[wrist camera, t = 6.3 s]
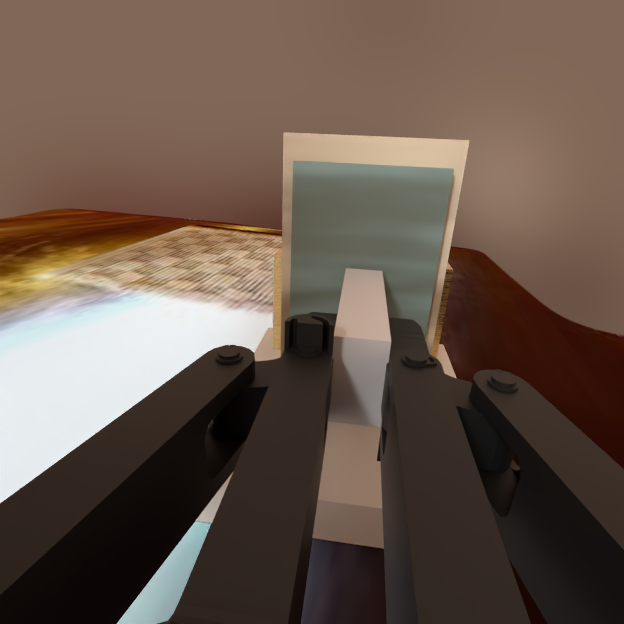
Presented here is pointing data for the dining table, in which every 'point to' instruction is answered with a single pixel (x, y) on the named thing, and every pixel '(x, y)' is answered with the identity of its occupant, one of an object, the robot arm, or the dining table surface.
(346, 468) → the base
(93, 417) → the dining table surface
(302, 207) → the wooden tall block
